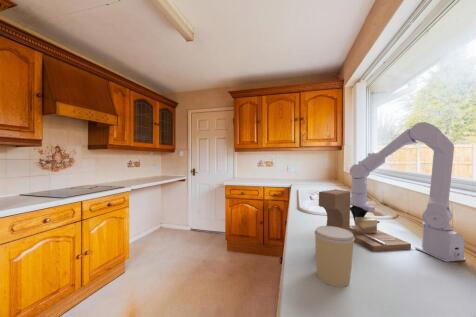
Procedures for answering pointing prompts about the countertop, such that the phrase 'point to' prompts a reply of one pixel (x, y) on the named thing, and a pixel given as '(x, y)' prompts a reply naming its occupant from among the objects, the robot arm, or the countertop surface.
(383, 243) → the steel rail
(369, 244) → the walnut board
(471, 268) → the countertop surface
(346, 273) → the coffee cup
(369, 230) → the beige peg block
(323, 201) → the decorative block
